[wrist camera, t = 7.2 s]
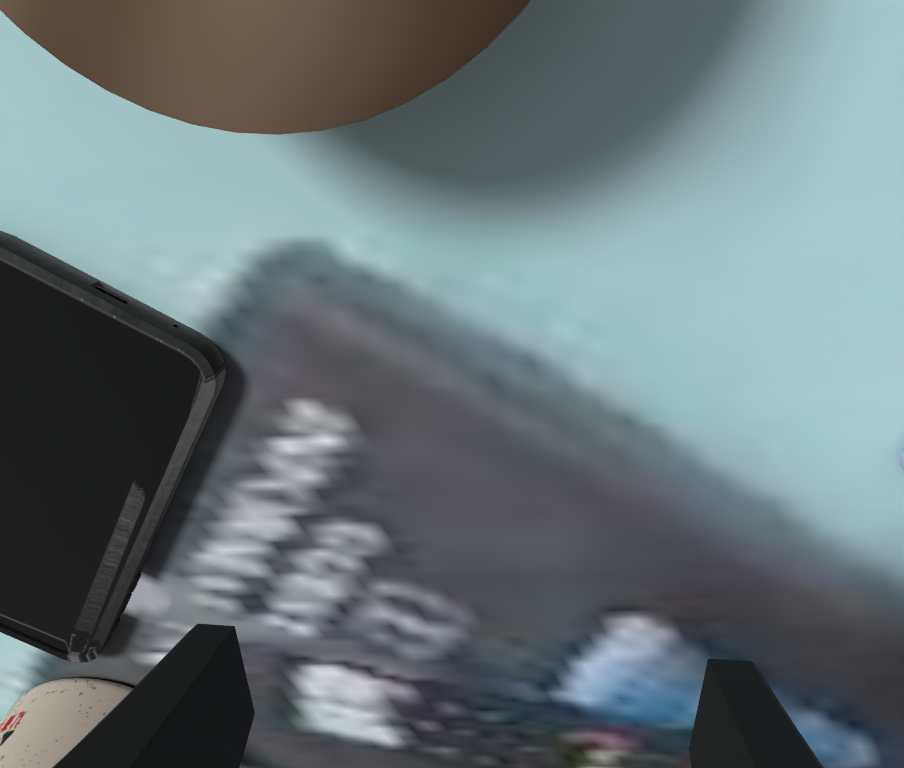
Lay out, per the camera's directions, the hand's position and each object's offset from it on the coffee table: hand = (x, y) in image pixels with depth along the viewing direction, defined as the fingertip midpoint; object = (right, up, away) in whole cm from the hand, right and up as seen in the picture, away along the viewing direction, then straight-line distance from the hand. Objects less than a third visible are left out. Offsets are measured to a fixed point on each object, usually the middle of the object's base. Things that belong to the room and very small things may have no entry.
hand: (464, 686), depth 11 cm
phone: (-13, +2, +12) cm, 18 cm away
